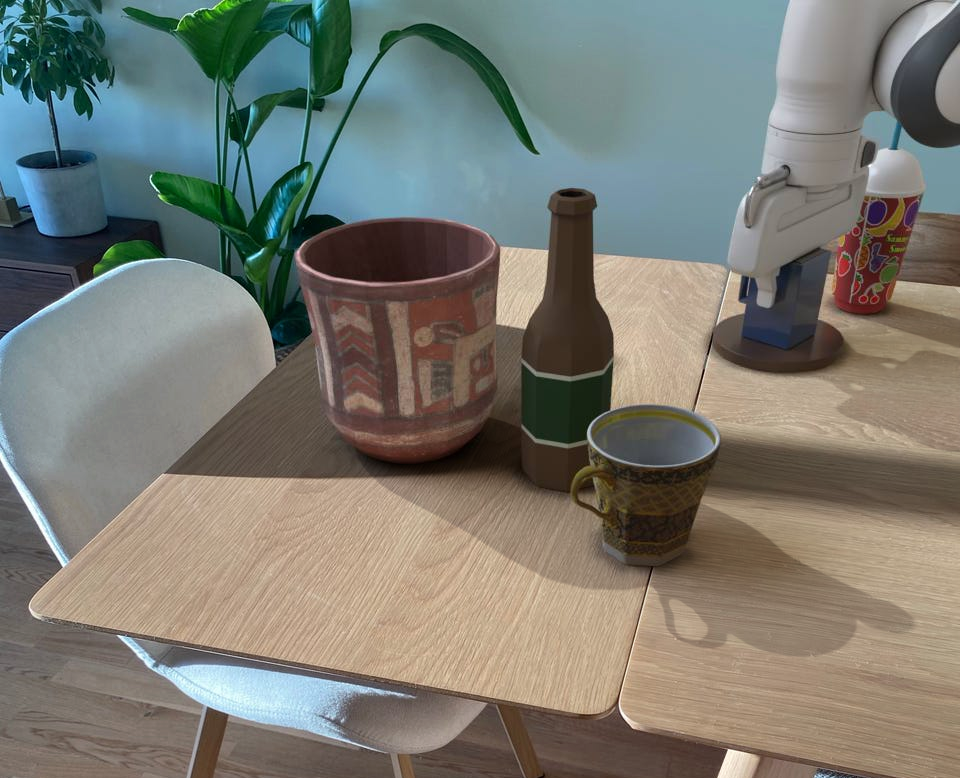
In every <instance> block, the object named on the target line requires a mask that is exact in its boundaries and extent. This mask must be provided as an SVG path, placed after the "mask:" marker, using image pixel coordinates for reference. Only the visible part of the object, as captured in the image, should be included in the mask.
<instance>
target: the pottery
mask: <svg viewBox="0 0 960 778" xmlns="http://www.w3.org/2000/svg"><path fill="white" fill-rule="evenodd" d="M294 260H295V265H296V271H297V276H298V282H299V284H300V285H299V286H300V288H301V292H302V295H303V299H304V302H305V307H306V310H307V314H308V318H309V323H310V328H311V332H312V336H313V342H314V347H315V355H316V364H317V371H318V379H319V387H320V393H321V400H322V404H323V409H324V411H325V414H326V415H327V418H328V420H329V421H330V422H331V424H332V425H333V426H334V428H335V429H336V430H337V432H338V433H339V435H340V436H341V437H342V438H343V439H344V440H345V441H346V442H347V443H348V444H349V445H350V446H351V447H353V448H354V449H356V450H357V451H358V452H360V453H362V454H363V455H365V456H367V457H369V458H372V459H374V460H376V461H381V462H387V463H392V464H399V465H400V464H403V465H404V464H405V465H406V464H407V465H408V464H413V465H414V464H415V465H416V464H421V463H428V462H433V461H438V460H442V459H444V458H446V457H448V456H450V455H453V454H456V453H457V452H458V451H459V450H460V449H462V448H463V447H464V446H465V445H466V444H468V442H470V441H471V440H473V438H474V437H475V436H476V435H478V434H479V433H480V432H481V431H482V429H483V427H484V426H485V424H486V423H487V421H488V418H489V417H490V415H491V412H492V408H493V407H494V406H493V405H494V403H495V399H496V395H497V393H498V375H499V374H498V351H497V348H498V347H497V313H498V312H497V311H498V305H497V304H498V290H499V289H498V288H499V275H500V265H501V246H500V244H499V243H498V242H497V240H496V239H495V237H493V235H491V234H489V233H488V232H485V231H484V230H482V229H479V228H478V227H476V226H474V225H471V224H466V223H462V222H459V221H454V220H450V219H442V218H434V217H433V218H432V217H420V216H419V217H413V216H397V217H382V218H381V217H380V218H379V217H378V218H370V219H365V220H359V221H354V222H348V223H345V224H342V225H338V226H336V227H332V228H330V229H326V230H324V231H322V232H320V233H317V234H316V235H314V236H311V237H310V238H309V239H307V240H306V241H304V242H302V244H301V245H299V247H298V248H297V250H296V251H295V252H294Z"/></svg>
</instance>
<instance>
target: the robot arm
mask: <svg viewBox="0 0 960 778" xmlns="http://www.w3.org/2000/svg"><path fill="white" fill-rule="evenodd" d="M776 59H777V60H776V65H775V81H776V95H775V100H774V102H773V106H772V109H771V111H770V113H769V116H768V122H767V128H766V135H765V141H764V142H765V143H764V148H763V155H762V162H761V169H760V175H758V176H757V178H755V181H754V184H753V185H752V187H751V189H750V190H748V192H747V193H745V195H744V196H743V197H742V199H741V201H740V203H739V206H738V209H737V211H736V215H735V219H734V223H733V224H734V225H733V229H732V234H731V237H730V243H729V248H728V255H727V265H728V268H729V270H730V272H731V273H733V274H737V275H740V276H741V275H743V276H747V277H751V278H755V280H756V283H757V287H758V295H757V304H758V305H759V306H761V307H765V308H770V307H772V306H774V305H775V304H777V303H778V300H779V295H780V288H777V286H776V276H778V275H779V272H780V267H781V266H783V265H785V264H787V263H789V262H791V261H793V260H795V259H797V258H799V257H801V256H803V255H805V254H807V253H809V252H811V251H813V250H815V249H817V248H822V249H826V250H827V247H828V244H830V243H831V242H834V241H835V240H836V239H839V237H841V236H843V235H845V234H847V233H849V232H850V231H851V230H852V229H853V227H854V226H855V224H856V222H857V220H858V218H859V215H860V212H861V208H862V204H863V200H864V196H865V192H866V188H867V184H868V179H869V165H871V164H872V163H874V161H875V160H876V157H877V153H878V150H879V147H880V142H879V140H877V139H875V138H871V137H868V136H865V135H863V134H862V132H863V126H864V121H865V118H866V117H867V116H868V115H869V114H870V113H872V112H885V113H887V114H888V115H889V116H891V118H893V119H894V120H896V122H897V121H898V122H899V124H900V125H901V126H902V129H903V130H904V132H905V133H906V134H907V135H908V136H909V137H910V138H911V139H912V140H914V141H915V142H917V143H918V144H919V145H922V146H925V147H928V148H933V149H947V148H948V149H949V148H953V147H958V146H960V0H955V1H954V0H789V2H788V6H787V10H786V14H785V17H784V21H783V26H782V31H781V37H780V41H779V47H778V51H777V58H776Z"/></svg>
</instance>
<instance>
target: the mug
mask: <svg viewBox="0 0 960 778" xmlns="http://www.w3.org/2000/svg"><path fill="white" fill-rule="evenodd" d="M831 256H832V250H830V249H827V248H826V249H822V248H817V249H815V250H813V251H811V252H809V253H807V254H805V255H803V256H801V257H799V258H797V259H795V260H793V261H791V262H789V263H787V264H785V265H783V266H781V267H780V272H779V275H778V276H776V286H777V288H780V295H779V300H778V303H777V304H775V305H774V306H772V307H770V308H765V307H761V306H759V305H758V304H757V295H758V287H757V283H756V280H755V278H751V277H747V276H743V275H740V283H739V289H738V290H739V291H738V297H737V301H738V302H739V303H740V304H743V305H745V308H744V313H745V314H744V321H743V328H742V335H741V336H743V337H747V338H750V339H753V340H756V341H760V342H763V343H766V344H769V345H773V346H776V347H779V348H782V349H786V350H788V349H790V348H791V347H793V346H795V345H797V344H798V343H800V342H802V341H803V340H805V339H807V338H809V337H810V336H812V335H814V334H815V332H816V327H817V322H818V319H819V316H820V311H821V307H822V301H823V296H824V292H825V286H826V281H827V276H828V270H829V265H830V261H831Z"/></svg>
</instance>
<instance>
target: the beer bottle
mask: <svg viewBox="0 0 960 778" xmlns="http://www.w3.org/2000/svg"><path fill="white" fill-rule="evenodd" d="M597 207H598V202H597V198H596V194H595V193H592V192H591V191H589V190H588V189H585V188H579V187H578V188H577V187H569V188H568V187H567V188H561V189H558V190H555V192H553V193H551V195H550V196H549V200H548V203H547V209H548V210H549V211H550V213H551V214H550V225H549V226H550V227H549V238H548V239H549V240H548V251H547V264H546V265H547V266H546V277H545V284H544V290H543V294H542V299H541V301H540V302H539V304H538V306H537V307H536V308H535V310H534V311H533V313H532V314H531V316H530V318H529V319H528V322H527V325H526V328H525V330H524V333H523V336H522V343H521V344H522V345H521V356H520V365H521V366H520V367H521V368H520V373H521V374H520V376H521V378H520V382H521V383H520V390H521V391H520V392H521V393H520V395H521V396H520V397H521V398H520V401H521V402H520V404H521V405H520V409H521V410H520V413H521V414H520V417H521V420H520V421H521V422H520V426H521V427H520V429H521V431H520V432H521V433H520V436H521V437H520V438H521V439H520V443H521V444H520V445H521V449H520V453H521V467H522V470H523V472H524V473H525V474H526V476H527V477H528V478H529V479H530V480H531V482H533V483H534V485H535V486H536V487H539V488H543V489H549V490H553V491H560V492H565V493H568V492H571V486H572V483H573V480H574V478H575V476H576V474H577V473H578V472H579V471H580V470H582V469H583V468H584V467H587V466H591V465H590V460H589V452H588V443H587V431H588V428H589V426H590V424H591V423H592V422H593V421H594V420H595V419H596V418H597V417H599V416H600V415H602V414H604V413H606V412H608V411H611V410H612V409H611V407H612V391H613V376H614V375H613V374H614V361H615V347H614V346H615V344H614V341H615V339H614V332H613V329H612V324H611V322H610V318H609V316H608V314H607V313H606V311H605V310H604V308H603V306H602V304H601V303H600V301H599V300H598V298H597V293H596V285H595V274H594V273H595V271H594V269H595V265H594V263H595V261H594V259H595V257H594V210H596V209H597ZM592 486H594V481H593V477H592V478H590V479H588V480H586V481H585V482H584V483H583V484H582V485H581V486H580V488H579V490H580V489H584V488H588V487H592Z"/></svg>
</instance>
